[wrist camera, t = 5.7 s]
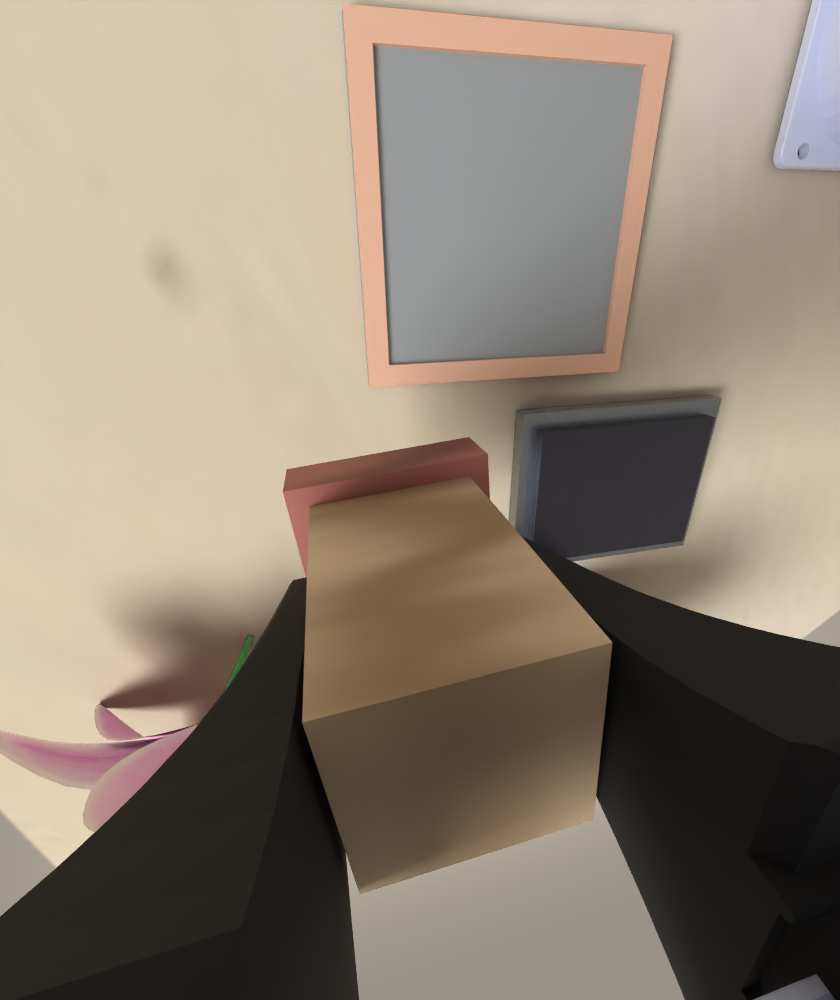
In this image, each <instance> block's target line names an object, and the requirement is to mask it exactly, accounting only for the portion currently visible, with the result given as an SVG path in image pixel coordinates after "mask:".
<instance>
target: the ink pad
mask: <svg viewBox="0 0 840 1000" xmlns="http://www.w3.org/2000/svg"><path fill="white" fill-rule="evenodd" d="M720 402H721V398H717V397H713V396H709V395H707V396H694V397H681V398H668V399H655V400H642V401H629V402H616V403H603V404H591V405H578V406H565V407H552V408H539V409H526V410H516V422H515V437H514V451H513V466H512V480H511V495H510V509H509V523H510V524H511V525H512V526H513V527H514V528H515V530H516V531H517V532H518V533H519V534H520V535H521V536H523V537H525V538H527V539H529V540H531V541H533V542H535V543H537V544H539V545H541V546H543V547H545V548H547V549H549V550H551V551H552V552H554V553H556V554H558V555H560V556H562V557H564V558H566V559H568V560H570V561H579V560H585V559H592V558H599V557H606V556H612V555H619V554H626V553H633V552H639V551H646V550H653V549H660V548H666V547H673V546H680V545H683V543H684V539H685V536H686V532H687V528H688V524H689V520H690V517H691V513H692V509H693V505H694V501H695V498H696V494H697V490H698V486H699V482H700V478H701V475H702V471H703V467H704V463H705V459H706V456H707V452H708V448H709V444H710V440H711V437H712V433H713V429H714V425H715V421H716V418H717V414H718V410H719V406H720Z"/></svg>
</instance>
